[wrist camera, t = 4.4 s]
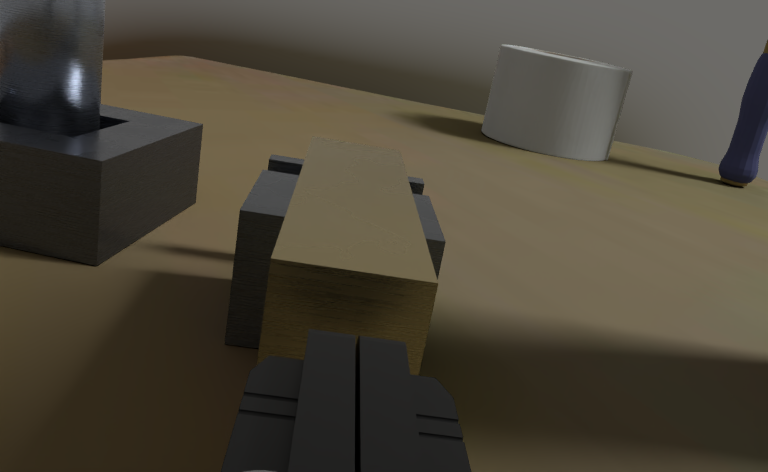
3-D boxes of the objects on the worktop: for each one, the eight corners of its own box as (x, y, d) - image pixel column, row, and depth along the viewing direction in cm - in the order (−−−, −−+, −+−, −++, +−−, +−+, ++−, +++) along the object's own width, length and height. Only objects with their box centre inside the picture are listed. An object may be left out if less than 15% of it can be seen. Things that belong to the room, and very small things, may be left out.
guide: (418, 370, 26) (445, 241, 24) (224, 343, 25) (240, 209, 23) (402, 277, 34) (422, 178, 33) (259, 256, 34) (271, 154, 32)
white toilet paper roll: (632, 161, 85) (657, 72, 82) (557, 162, 75) (583, 60, 72) (531, 131, 96) (551, 51, 93) (455, 128, 86) (473, 38, 83)
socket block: (195, 202, 40) (202, 124, 38) (96, 265, 29) (101, 161, 28) (12, 165, 40) (12, 86, 39) (-149, 213, 30) (-156, 109, 29)
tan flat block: (369, 608, 15) (438, 282, 13) (226, 593, 15) (270, 258, 12) (364, 346, 26) (400, 150, 24) (284, 335, 26) (312, 136, 24)
